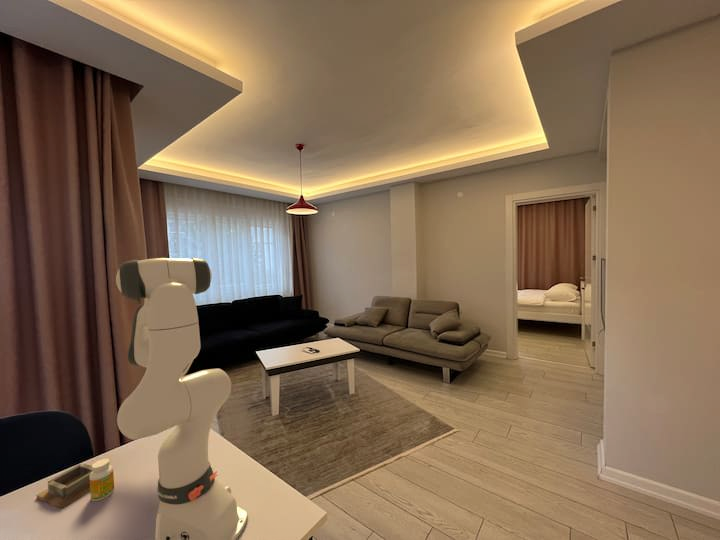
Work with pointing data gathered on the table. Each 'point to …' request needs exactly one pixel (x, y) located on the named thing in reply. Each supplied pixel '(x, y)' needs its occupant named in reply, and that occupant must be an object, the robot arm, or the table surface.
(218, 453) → the table surface
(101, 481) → the supplement bottle
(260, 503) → the table surface
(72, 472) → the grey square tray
